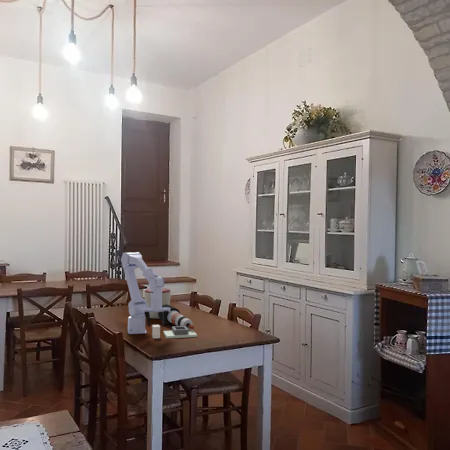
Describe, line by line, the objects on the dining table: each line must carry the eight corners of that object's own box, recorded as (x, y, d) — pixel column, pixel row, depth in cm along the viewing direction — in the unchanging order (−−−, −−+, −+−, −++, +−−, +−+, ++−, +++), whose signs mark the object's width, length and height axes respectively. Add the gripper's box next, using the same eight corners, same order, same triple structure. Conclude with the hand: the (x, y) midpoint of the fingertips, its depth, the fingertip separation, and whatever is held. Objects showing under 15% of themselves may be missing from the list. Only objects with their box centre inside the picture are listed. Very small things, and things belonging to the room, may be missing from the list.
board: (166, 338, 246) (166, 331, 246) (163, 333, 257) (163, 326, 257) (196, 336, 250) (197, 329, 250) (192, 331, 261) (192, 325, 261)
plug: (153, 338, 245) (153, 327, 245) (152, 336, 250) (152, 324, 250) (160, 338, 246) (160, 326, 246) (158, 336, 251) (158, 324, 251)
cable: (188, 340, 256) (181, 325, 253) (161, 323, 285) (155, 309, 281) (203, 330, 261) (196, 315, 258) (175, 314, 289) (169, 301, 286)
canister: (174, 315, 308) (174, 282, 308) (168, 320, 290) (168, 286, 290) (147, 314, 310) (147, 282, 310) (139, 319, 292) (139, 285, 292)
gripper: (143, 301, 242) (142, 328, 242) (171, 300, 246) (171, 326, 246) (141, 299, 249) (141, 325, 249) (169, 298, 253) (169, 324, 253)
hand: (156, 325), depth 248 cm, fingers open, 7 cm apart
